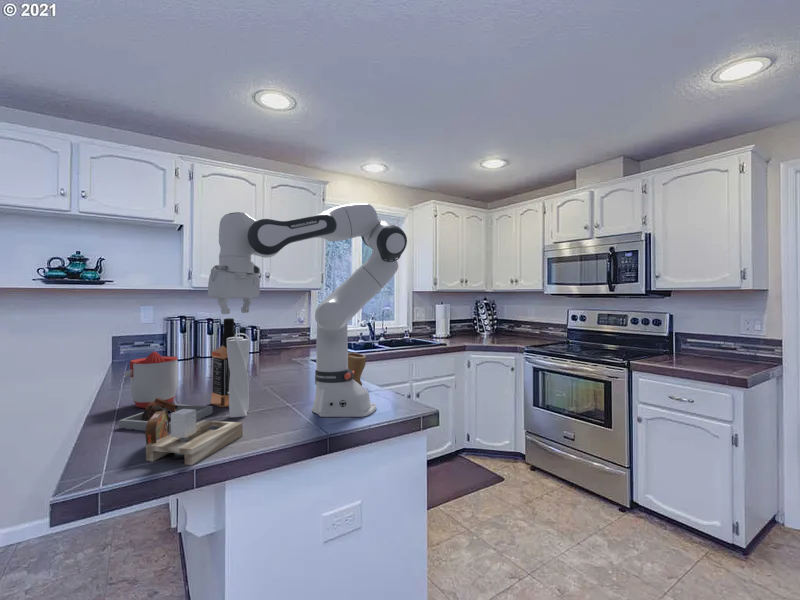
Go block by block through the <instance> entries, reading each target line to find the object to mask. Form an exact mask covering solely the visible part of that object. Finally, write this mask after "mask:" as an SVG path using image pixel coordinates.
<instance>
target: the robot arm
mask: <svg viewBox="0 0 800 600" xmlns="http://www.w3.org/2000/svg"><path fill="white" fill-rule="evenodd" d="M218 227H219V228H218V244H219V248H220V249H219V250H220V251H219V255H218V264H216V265H214V266H213V267H212V268H211V270H210V274H209V278H208V281H207V282H208V285H207V295H208V297H209V298H210V299H217V302H218V303H217V304H218V305H219V308H220V309H221V310H220V314H221V315H230V313H231V311H230V309H231V308H230V307H229V306H228V304H227V303H228V300H229V299H242V302H243V305H242V307H240V308H241V309H240V311H241V314H246V313H247V314H248V313H250V306H251V304H252V299H256V298H259V296H260V293H261V292H260V290H261V282H260V281H261V280H260V279H261V278H260V276H259V275H260V274H261V269H260V267H259V266H258V265H256V264H255V263H254V262H253V261H252V255H254V256H256V257H261V258H272V257H274V256H276V255H277V254H278V253H279V252H280V251H281V250H283V248H285V247H286V246H288V245H289V244H292V243H296V242H302V241H306V240H310V239H315V238H316V239H317V238H320V239H325V240H326V241H327V242H341V241H345V240H346V241H347V240H352V239H353V238H357V237H361V239H362V241H363V243H364V244H365V245H366V247H368V248H370V249H371V250H372V252H371V254H370V256H369V258H368V259H367V260H366V261H365V262H363V263H362V265H360V266H359V267H358V268H357V269H356V270H355V271H354V272H353V273H352V274H351V275H350V276H349V277H348V278H346V279H345V281H343V282H342V283H341V284H340V285H339V286H338V287H337V288H336V289H335V290H333V291H332V292H331V293H330V294H329V295H327V297H326V298H324V300H322V301H321V302H320V303H319V304H318V305H317V307H316V310H315V312H314V319H315V322H316V345H315V351H316V352H315V353H316V354H315V356H316V358H315V359H316V360H315V361H316V362H315V363H316V366H315V368H316V369H315V370H314V371H315V372H314V374H315V375H314V385H315V394H314V400H313V406H312V409H311V411H312V412H313V413H315V414H317V415H318V416H319V417H321V418H322V417H323V418H326V417H327V418H328V417H329V418H330V417H331V418H333V417H335V418H348V417H349V418H352V417H353V418H354V417H355V418H357V417H358V418H361V417H363V418H364V417H367V416H370V415H372V414H373V413H374V412H375V411H376V409H377V404H376V403H375V402H371V398H370V394H369V391H368V390H367V389H366V388H365V387H364V386H363V385H362V386H361V385H360V384H358V383H357V382H356V381H355V380H353V374H354V371H351V370H350V369H349V368H348V353H349V348H348V347H349V346H348V343H349V342H348V341H349V340H348V339H349V338H348V323H349V322H350V320H352V318H353V317H355V316H356V315H357V313H359V312H360V310H361V309H363V308H364V307H365V305H366V304H368V303H369V302H370V301H371V300H372V298H374V297H375V296H376V295H377V294H378V293H379V292H380V291H381V290H383V288H384V287H385V286H386V285H387V284H388V283H389V282H390V280H391V279H392V278H393V277H394V275H395V274H396V273H397V272H398V269H399V263H398V260H399V259H400V258H401V255H402V254H403V253H404V251H405V249H406V247H407V244H408V237H407V233H405V231H404V230H403V229H402V228H400V227H399V226H397V225H395V224H394V223H392V222H389V221H385V220H381V219H380V218H379V217H378V214H377V211H376V209H375V208H374V207H373V205H371V204H370V203H366V202H365V203H362V202H359V203H349V204H344V205H339V206H335V207H332V208H331V207H330V208H329V209H327V210H324V211H322V212H319V213H317V214H315V215H312V216H305V217H301V218H296V219H291V220H285V221H283V220H282V221H281V220H276V219H271V218H263V219H262V218H261V219H258V220H256V219H254V218H253V217H252V216H250V215H249V214H248V213H246V212H239V211H237V212H235V211H234V212H229V213H227V214H224V215H223V216H222V217H221V218H220V221H219V226H218Z"/></svg>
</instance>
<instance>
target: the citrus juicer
mask: <svg viewBox="0 0 800 600" xmlns="http://www.w3.org/2000/svg"><path fill="white" fill-rule="evenodd" d="M178 359H179V357H177V356H165V355H163V356H162V355H161V354H160V353H158V352H157V351H152V352H151V353H149V355H148V356H147V357H142V358H136V359H131V360H130V361H129V369H128V370H126V371H125V372H124V373H123V378H127V377H129V378H130V380H129V381H130V384H129V385H130V392H131V393H130V394H131V397H132V399H133V402H134V405H135V407H137V408H142V409H144V408H146V407H147V406H148V404H150V403H151V402H153V401H155V399H156V398H160V399H163V400H166V401H168V402H171V403H173V401H174V399H175V397H176V393H177V390H178V383H179V382H178V381H179V379H178V376H179V375H178Z"/></svg>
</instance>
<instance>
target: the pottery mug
mask: <svg viewBox="0 0 800 600" xmlns="http://www.w3.org/2000/svg"><path fill="white" fill-rule="evenodd" d="M177 407H178V406H177V405H176V403H173V402H172V403H171V402H168V401H166V400H163V399H160V398H156V399H155V401H153V402H151V403H150V404H148V406H147V407H146V408H145V409H144V410H143V412H144V413H143V415H142V419H141V421H149V419H150V418H151V417H152V416H153V414H154V413H155V412H159V411H162V410H163V408H166V409H168V410H171V411H172V412H171V413H173V412H176V411H177V410H176V409H177Z"/></svg>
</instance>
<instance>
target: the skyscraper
mask: <svg viewBox="0 0 800 600" xmlns="http://www.w3.org/2000/svg"><path fill="white" fill-rule="evenodd" d="M241 335H243V336H245V337H246V338H244V337H243V336H241ZM232 338H234V339H233V340H228V339H232ZM250 343H251V339H250V337H249V336H248V335H247V334H246V333H242V332H238V333H235V337H229V338H227V355H228V363H229V369H230V380H229V406H228V408H229V411H228V413H229V418H239V417H247V416H248V415H247V414H248V413H249V411H250V410H249V409H250V407H249V406H250V389H249V388H250V387H249V375H248V366H249V365H248V364H249V356H250V346H251V345H250ZM247 412H248V413H247Z"/></svg>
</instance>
